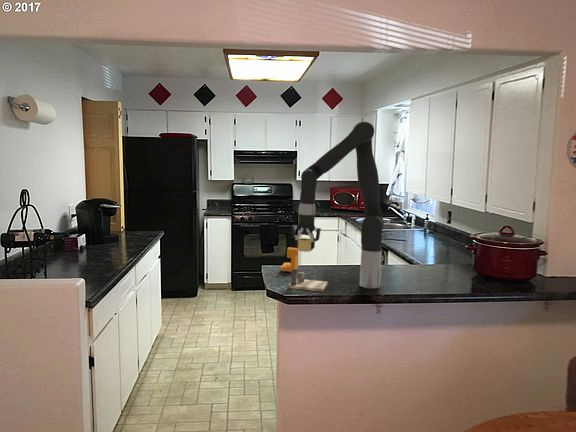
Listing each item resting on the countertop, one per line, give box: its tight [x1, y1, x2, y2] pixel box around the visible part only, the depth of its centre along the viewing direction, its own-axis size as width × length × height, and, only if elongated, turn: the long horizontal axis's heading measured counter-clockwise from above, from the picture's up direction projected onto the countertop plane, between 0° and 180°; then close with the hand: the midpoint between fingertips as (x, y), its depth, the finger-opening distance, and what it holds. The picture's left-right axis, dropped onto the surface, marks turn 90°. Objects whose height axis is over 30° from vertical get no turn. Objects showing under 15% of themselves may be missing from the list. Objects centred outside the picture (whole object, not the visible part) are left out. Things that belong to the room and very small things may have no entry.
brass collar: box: [298, 237, 313, 253], centre depth 212 cm, size 6×6×5 cm
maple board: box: [287, 269, 329, 293], centre depth 209 cm, size 16×12×8 cm
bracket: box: [280, 246, 299, 273], centre depth 235 cm, size 11×7×12 cm, turn 169°
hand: (304, 248), depth 212 cm, fingers closed on brass collar, 6 cm apart
